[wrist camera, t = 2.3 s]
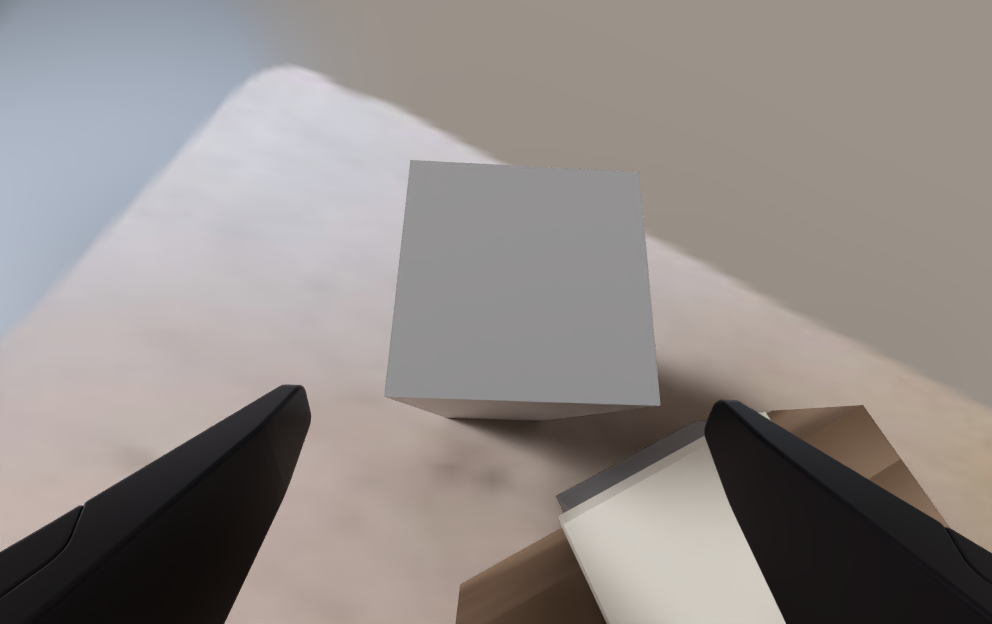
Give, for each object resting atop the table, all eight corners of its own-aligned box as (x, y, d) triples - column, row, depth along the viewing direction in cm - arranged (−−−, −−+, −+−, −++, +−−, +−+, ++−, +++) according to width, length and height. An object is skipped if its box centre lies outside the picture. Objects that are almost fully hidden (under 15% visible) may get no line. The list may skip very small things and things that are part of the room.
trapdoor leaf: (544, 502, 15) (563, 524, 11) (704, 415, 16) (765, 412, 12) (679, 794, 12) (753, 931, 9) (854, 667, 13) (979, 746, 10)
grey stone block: (542, 420, 18) (660, 406, 6) (445, 417, 18) (384, 396, 6) (542, 327, 19) (639, 172, 8) (452, 323, 19) (410, 160, 7)
